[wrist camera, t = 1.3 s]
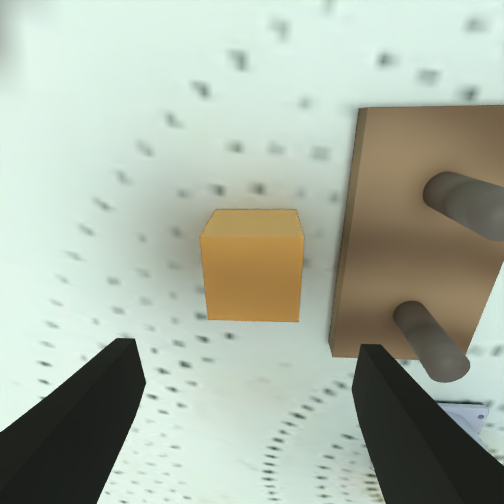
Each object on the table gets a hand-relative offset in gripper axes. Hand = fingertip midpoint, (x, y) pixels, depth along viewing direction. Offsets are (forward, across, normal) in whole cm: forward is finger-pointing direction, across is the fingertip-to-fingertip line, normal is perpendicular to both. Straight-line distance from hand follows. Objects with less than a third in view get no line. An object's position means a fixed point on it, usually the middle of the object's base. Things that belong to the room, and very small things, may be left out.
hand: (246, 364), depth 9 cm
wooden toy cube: (+10, 0, 0) cm, 10 cm away
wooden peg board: (+10, -10, 0) cm, 14 cm away
